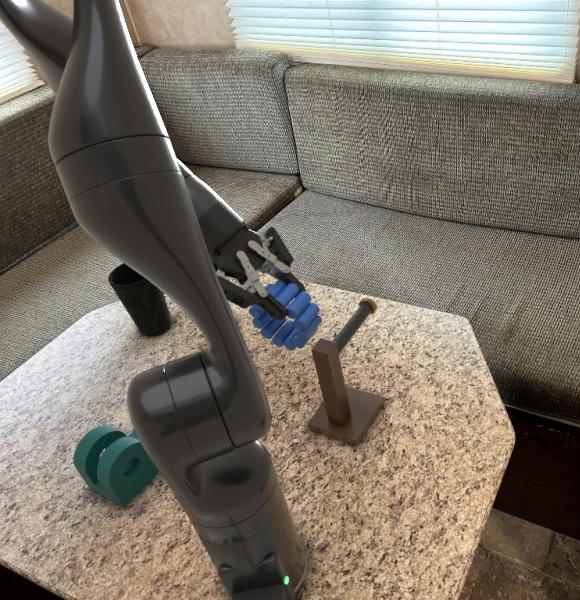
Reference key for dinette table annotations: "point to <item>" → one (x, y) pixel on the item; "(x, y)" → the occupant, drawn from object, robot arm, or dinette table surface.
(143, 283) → the cup
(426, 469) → the dinette table surface
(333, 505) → the dinette table surface
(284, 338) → the blue ribbed cylinder bundle
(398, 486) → the dinette table surface
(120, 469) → the bracket
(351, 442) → the tape stand
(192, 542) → the dinette table surface
